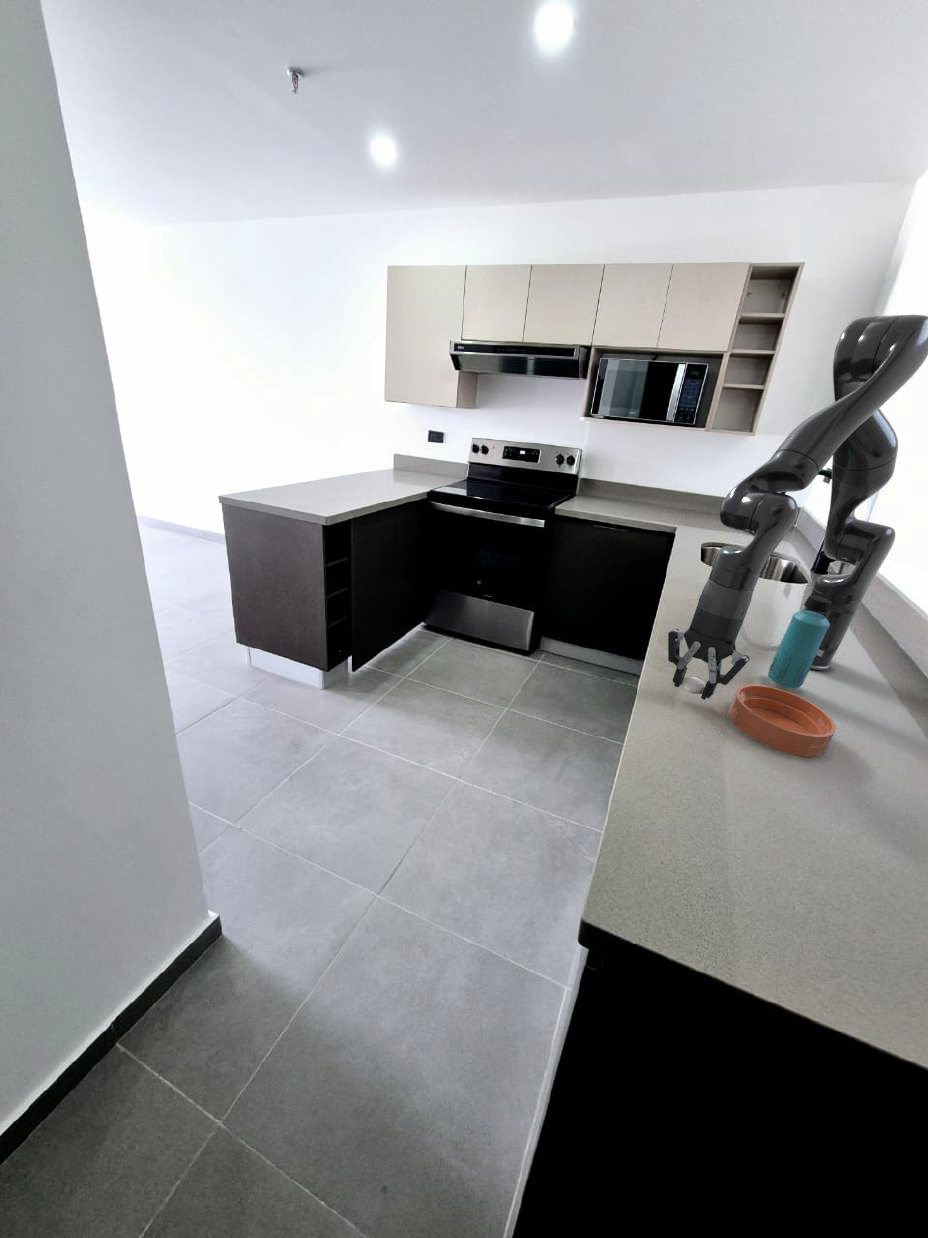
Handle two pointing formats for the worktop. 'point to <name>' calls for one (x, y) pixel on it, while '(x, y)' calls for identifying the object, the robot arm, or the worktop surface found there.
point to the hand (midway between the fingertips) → (690, 691)
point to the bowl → (781, 720)
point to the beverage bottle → (800, 644)
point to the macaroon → (693, 685)
